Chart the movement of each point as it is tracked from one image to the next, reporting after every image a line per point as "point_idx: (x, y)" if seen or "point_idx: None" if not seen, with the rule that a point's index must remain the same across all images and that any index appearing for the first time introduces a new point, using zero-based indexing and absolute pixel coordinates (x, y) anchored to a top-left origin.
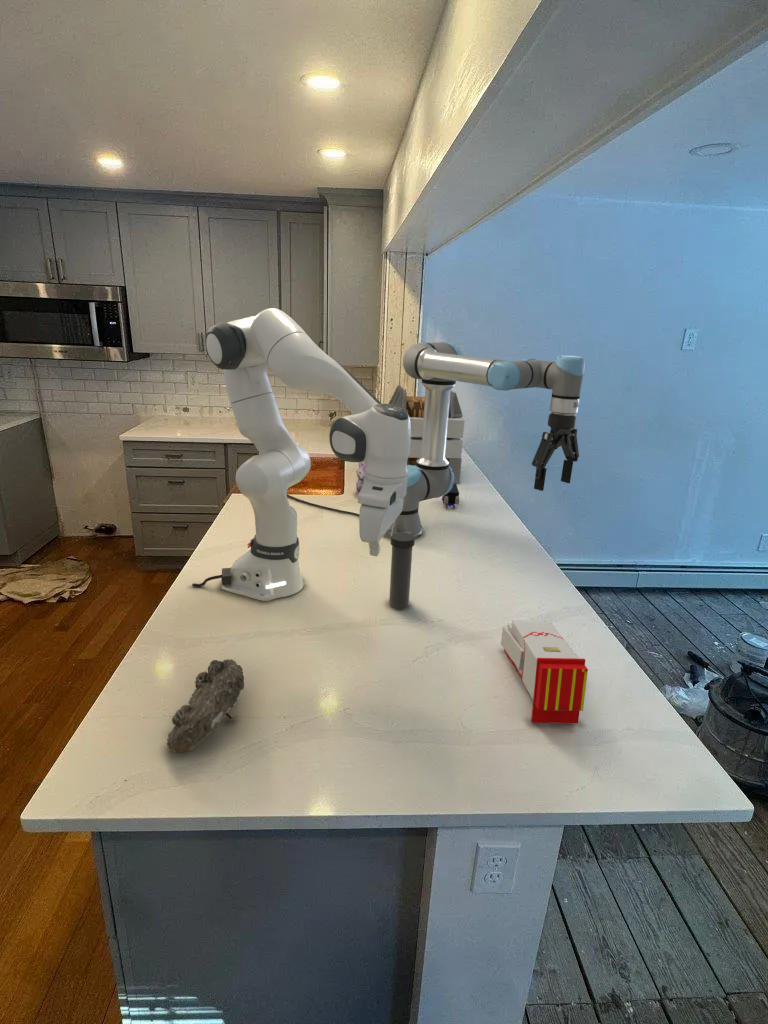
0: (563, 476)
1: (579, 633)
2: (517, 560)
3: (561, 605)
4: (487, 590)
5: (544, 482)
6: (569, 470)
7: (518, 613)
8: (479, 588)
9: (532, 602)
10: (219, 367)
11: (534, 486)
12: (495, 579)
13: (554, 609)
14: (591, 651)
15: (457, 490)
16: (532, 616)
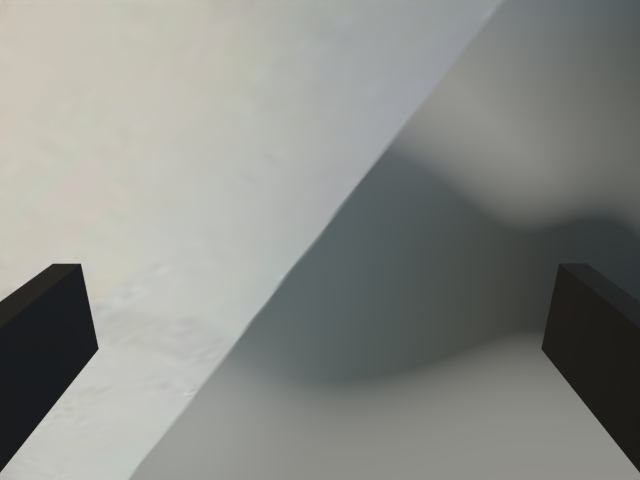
0: (586, 318)
1: (120, 398)
2: (342, 25)
3: (192, 309)
4: (55, 125)
5: (50, 407)
6: (632, 444)
7: None
8: (39, 98)
9: (132, 255)
10: None
11: (40, 278)
12: (138, 86)
13: (157, 310)
14: (85, 443)
15: None
16: None
